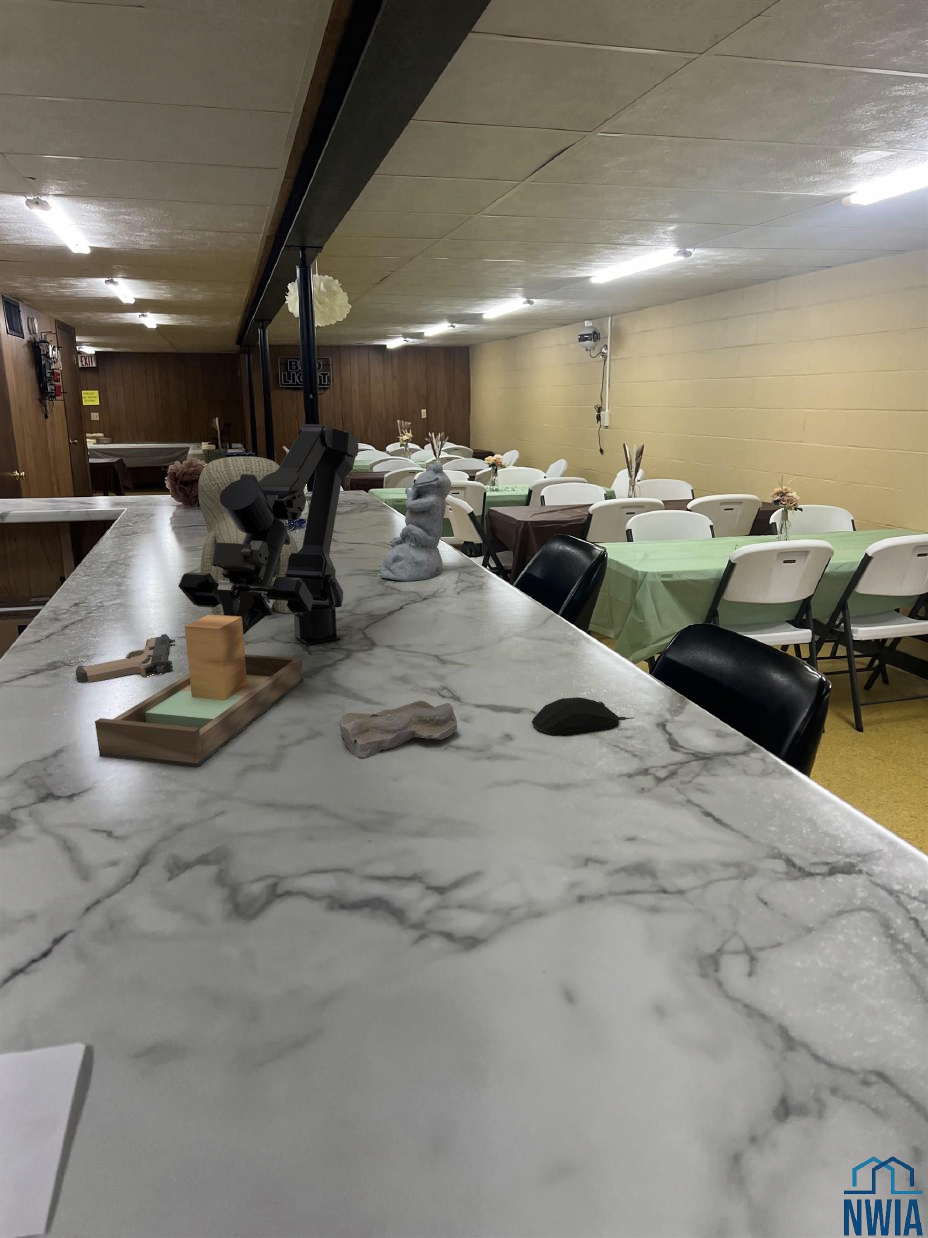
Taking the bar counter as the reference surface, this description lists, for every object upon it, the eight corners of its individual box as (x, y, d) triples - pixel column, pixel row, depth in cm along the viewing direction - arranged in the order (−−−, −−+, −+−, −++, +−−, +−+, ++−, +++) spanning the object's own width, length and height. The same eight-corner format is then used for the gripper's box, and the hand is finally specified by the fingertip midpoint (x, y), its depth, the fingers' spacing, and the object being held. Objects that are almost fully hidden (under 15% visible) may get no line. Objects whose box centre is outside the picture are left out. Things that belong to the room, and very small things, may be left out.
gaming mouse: (647, 729, 102) (649, 701, 101) (542, 741, 98) (543, 712, 97) (625, 711, 108) (627, 684, 107) (525, 722, 104) (526, 694, 103)
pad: (181, 704, 107) (179, 690, 107) (254, 711, 105) (253, 697, 104) (146, 726, 100) (145, 712, 99) (224, 734, 97) (223, 720, 97)
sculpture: (379, 562, 200) (393, 448, 188) (438, 570, 203) (456, 458, 190) (378, 590, 184) (393, 467, 172) (442, 598, 186) (462, 477, 174)
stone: (351, 764, 91) (350, 732, 90) (332, 733, 100) (330, 704, 99) (465, 744, 97) (465, 714, 96) (438, 716, 106) (438, 688, 104)
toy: (292, 582, 183) (285, 452, 175) (314, 614, 155) (307, 462, 147) (200, 589, 176) (188, 454, 168) (206, 623, 148) (192, 464, 140)
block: (214, 682, 110) (208, 614, 107) (247, 685, 109) (241, 616, 106) (191, 697, 104) (184, 626, 102) (225, 700, 103) (219, 628, 100)
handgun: (74, 689, 116) (172, 676, 120) (71, 672, 116) (170, 661, 120) (90, 653, 134) (176, 643, 138) (88, 638, 133) (174, 629, 137)
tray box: (225, 673, 121) (223, 646, 119) (303, 680, 118) (301, 652, 117) (99, 756, 92) (94, 721, 91) (197, 767, 90) (194, 731, 89)
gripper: (179, 516, 111) (140, 610, 103) (300, 521, 107) (269, 618, 99) (212, 561, 120) (179, 649, 113) (325, 566, 116) (298, 658, 109)
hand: (229, 643), depth 108 cm, fingers closed
